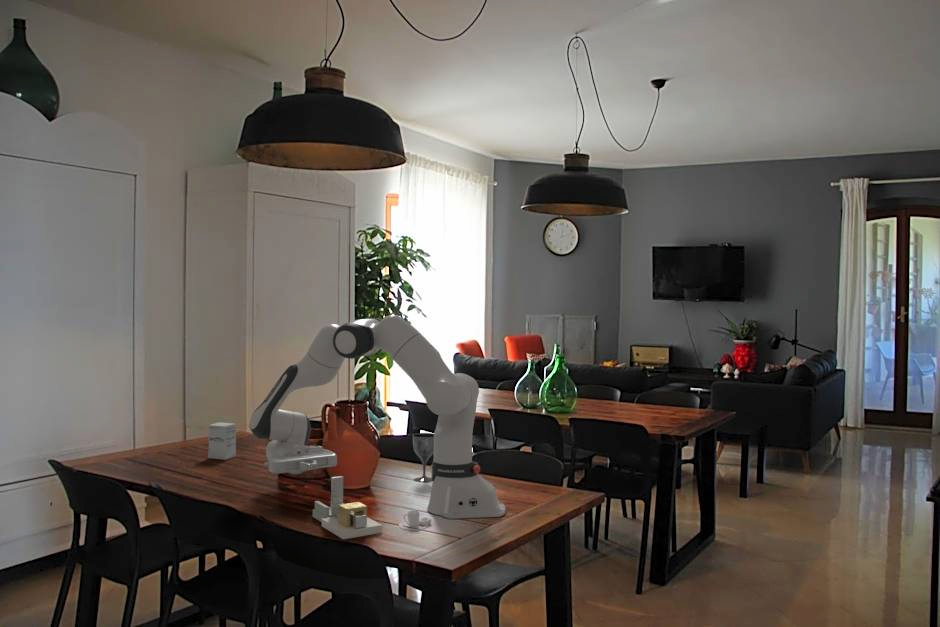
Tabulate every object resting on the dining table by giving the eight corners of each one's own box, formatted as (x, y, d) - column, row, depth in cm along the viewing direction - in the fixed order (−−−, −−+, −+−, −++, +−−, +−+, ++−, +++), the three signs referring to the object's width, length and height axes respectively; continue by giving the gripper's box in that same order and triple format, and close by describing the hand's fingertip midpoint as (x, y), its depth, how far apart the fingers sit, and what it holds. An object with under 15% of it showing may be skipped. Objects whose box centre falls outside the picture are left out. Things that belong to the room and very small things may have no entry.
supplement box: (207, 458, 295) (207, 424, 295) (219, 455, 302) (219, 421, 302) (225, 460, 293) (225, 426, 293) (236, 456, 300) (236, 423, 300)
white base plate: (321, 526, 213) (321, 518, 213) (358, 519, 219) (358, 512, 219) (343, 539, 201) (343, 531, 201) (382, 532, 208) (382, 524, 208)
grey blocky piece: (312, 516, 221) (312, 501, 221) (335, 513, 225) (335, 498, 225) (323, 523, 215) (323, 507, 215) (347, 519, 219) (347, 504, 219)
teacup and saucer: (431, 523, 218) (431, 508, 218) (431, 531, 210) (431, 516, 210) (399, 522, 218) (399, 508, 218) (397, 531, 210) (398, 516, 210)
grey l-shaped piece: (330, 514, 216) (331, 477, 216) (341, 512, 218) (341, 476, 217) (355, 528, 203) (356, 489, 203) (366, 526, 205) (366, 487, 205)
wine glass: (408, 481, 264) (409, 436, 264) (417, 476, 272) (417, 432, 272) (431, 483, 262) (431, 437, 262) (439, 478, 270) (439, 433, 269)
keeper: (338, 522, 209) (338, 504, 209) (358, 519, 212) (358, 501, 212) (346, 527, 205) (346, 509, 205) (366, 524, 208) (367, 506, 208)
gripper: (261, 452, 237) (278, 460, 225) (325, 445, 248) (344, 452, 237) (261, 473, 237) (278, 482, 225) (325, 465, 248) (344, 473, 237)
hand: (313, 467), depth 231 cm, fingers closed
